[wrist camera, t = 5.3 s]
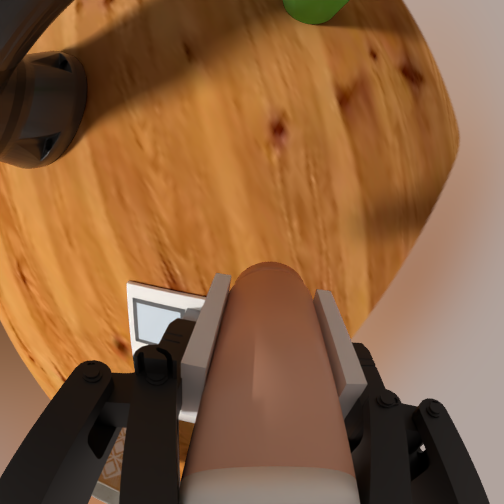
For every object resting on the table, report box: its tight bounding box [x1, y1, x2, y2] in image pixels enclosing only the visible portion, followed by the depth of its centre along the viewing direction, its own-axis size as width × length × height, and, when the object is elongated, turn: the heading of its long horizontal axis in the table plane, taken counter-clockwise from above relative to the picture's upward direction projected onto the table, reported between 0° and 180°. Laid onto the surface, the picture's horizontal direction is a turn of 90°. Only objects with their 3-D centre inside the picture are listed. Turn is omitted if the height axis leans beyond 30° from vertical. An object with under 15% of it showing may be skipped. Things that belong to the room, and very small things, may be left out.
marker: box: [179, 262, 360, 504], centre depth 9 cm, size 4×4×12 cm
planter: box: [91, 428, 126, 504], centre depth 34 cm, size 19×19×16 cm
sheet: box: [127, 281, 206, 423], centre depth 33 cm, size 16×24×1 cm, turn 171°
